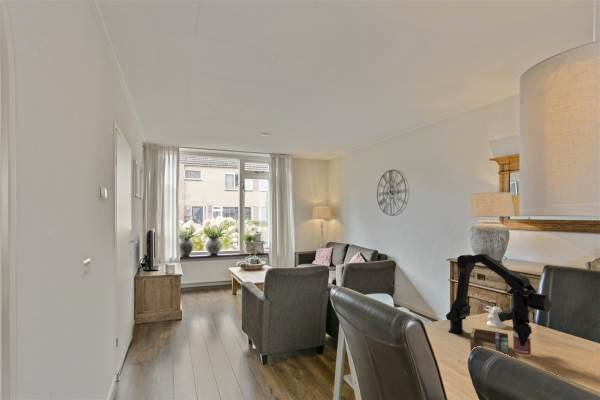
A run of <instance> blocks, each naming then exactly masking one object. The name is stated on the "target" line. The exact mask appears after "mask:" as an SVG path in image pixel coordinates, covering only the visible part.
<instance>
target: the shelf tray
mask: <svg viewBox="0 0 600 400" xmlns="http://www.w3.org/2000/svg"><path fill="white" fill-rule="evenodd" d="M470 332H471V333H470V337H469V340H470V341H469V342H470V351H473V350H472V349H473V348H474V347H477V346H481V347H487V348H490V349H493V350H496V351H499V352H502V353H504V354H507V355H509V333H506V332H499V331H494V330H487V329H481V328H480V329H479V328H474V327H473V328H471V331H470Z"/></svg>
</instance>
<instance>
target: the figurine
mask: <svg viewBox="0 0 600 400" xmlns="http://www.w3.org/2000/svg"><path fill="white" fill-rule="evenodd" d="M485 307H486V308H484V311H486V312H488V314H487V317H486V319H487V320H488V319H489V320H488V321H487V322H486V325H487V326H489V327H490V328H495V329H505V328H507V325H506V323H505V322H501V321H500V319H499V317H498V312H501V311H503V309H502V308H501V307H500V306H491V305H486V306H485Z"/></svg>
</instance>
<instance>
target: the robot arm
mask: <svg viewBox="0 0 600 400" xmlns="http://www.w3.org/2000/svg"><path fill="white" fill-rule="evenodd" d="M456 260H457V261H456V263H457V264H456V266H457V269H458V271H459V274H458V281H457V288H456V295H455V300H454V301H453V303H452V304H451V307H450V311H449V312H447V314H445V318H446V320H448V321H449V329H448V333H450V332H451V334H458V335H464V332H465V330H464V329H463V320H466V319H467V317H468V316H469V314H471V307H472V305H470V304H468V301H467V300H468V293H469V286H470V279H471V273H472V272H473V270H475V267H476V264H478V263H480V264H482V265H483V266H485V267H486V268H488V269H489V270H491V271H492V272H493V273H495V274H497V275H498V276H499V277H500V278H502V279H503V280H504V282H505V284H506V285H508V287H510V289H509V290H508V291H507V292H506V294H508V295H512V306H511V309H509V310H508V309H507V310H502V311H501V312H498V317H499V319H500V321H501V322H502V323H505V322H507V321H512V330H513V332H516V333H517V334H518V337H519V341H520V345H521V346H524V345H525V343H526V341H527V339H528V337H529V335H530V336H531V335H532V332H533V331H532V326H531V325H530V321H531V320H530V309H531V310H537V311H541V312H543V313H544V312H546V313H548V312H550V311H551V309H552V302H551V300H550V299H551V298H549V296H548V294H547V293H546V294H545V293H538V292H537V290H536V289H535V288H534V287H533V285H532V284H531V281H530V280H531V279H529V278H528V277H527V276H526V275H523V274H521V273H519V272H515V271H512V270H511V269H509V268H507V267H506V266H505V265H503V264H502V263H500V262H498V261H497V260H496V259H494V258H492V257H491V256H490V255H489V254H488V253H478V254H475V255H474V254H473V255H472V254H464V255H463V254H461V255H459V256H458V257H457V259H456ZM529 308H530V309H529Z"/></svg>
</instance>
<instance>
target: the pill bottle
mask: <svg viewBox="0 0 600 400" xmlns="http://www.w3.org/2000/svg"><path fill="white" fill-rule="evenodd" d="M512 340H513V341H512V342H513V343H512V344H513V345H512V346H513V353H514V354H515V355H517V356H520V357H524V358H528V357H531V356H532V344H531V341H532V339H531V334H530V335H529V337H528V339H527V341H526V343H525V345H524V346H521V345H520V341H519V337H518V334H517V333H516V332H515V331H513V333H512Z"/></svg>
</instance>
